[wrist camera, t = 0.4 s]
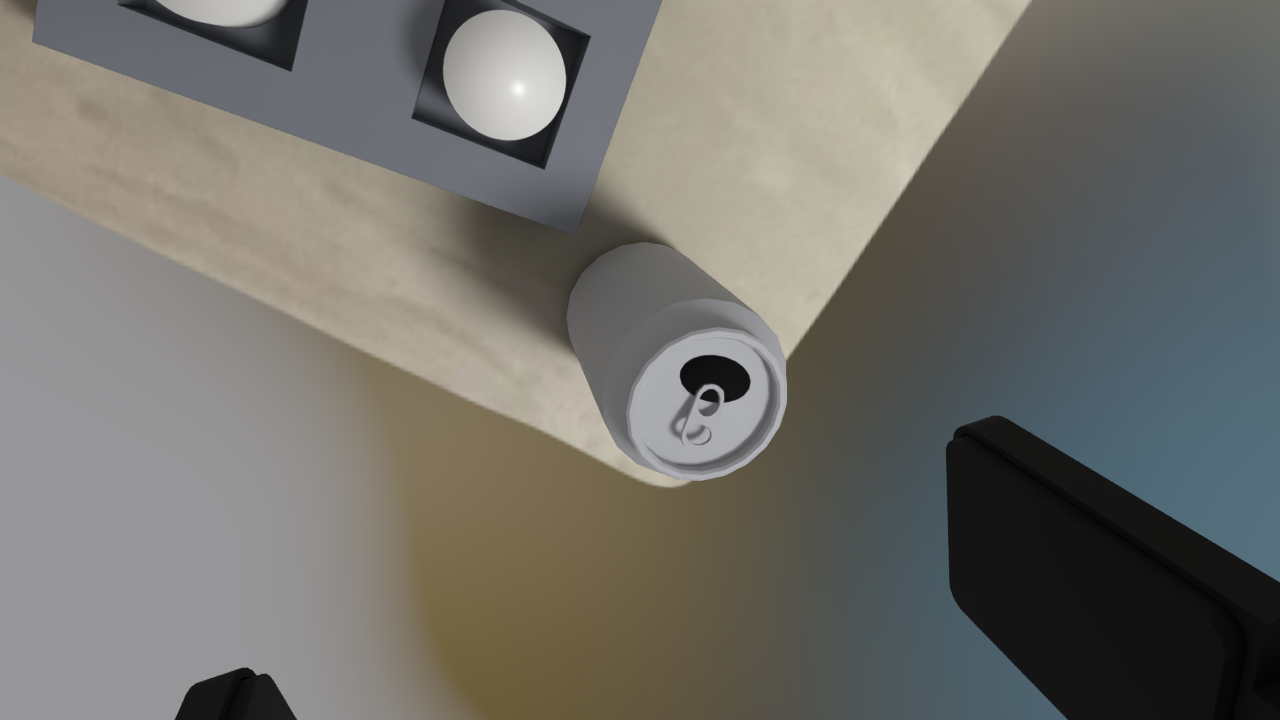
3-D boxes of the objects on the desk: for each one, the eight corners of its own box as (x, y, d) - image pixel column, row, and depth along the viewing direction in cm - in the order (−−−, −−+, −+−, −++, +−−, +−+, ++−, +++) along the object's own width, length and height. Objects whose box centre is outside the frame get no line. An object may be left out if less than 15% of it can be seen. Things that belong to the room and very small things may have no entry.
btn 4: (464, -5, 27) (464, -13, 24) (570, 44, 28) (582, 42, 25) (430, 108, 28) (427, 112, 25) (534, 150, 29) (542, 157, 27)
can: (725, 264, 36) (838, 345, 25) (673, 390, 38) (757, 514, 27) (592, 217, 34) (656, 285, 23) (544, 355, 36) (580, 477, 25)
